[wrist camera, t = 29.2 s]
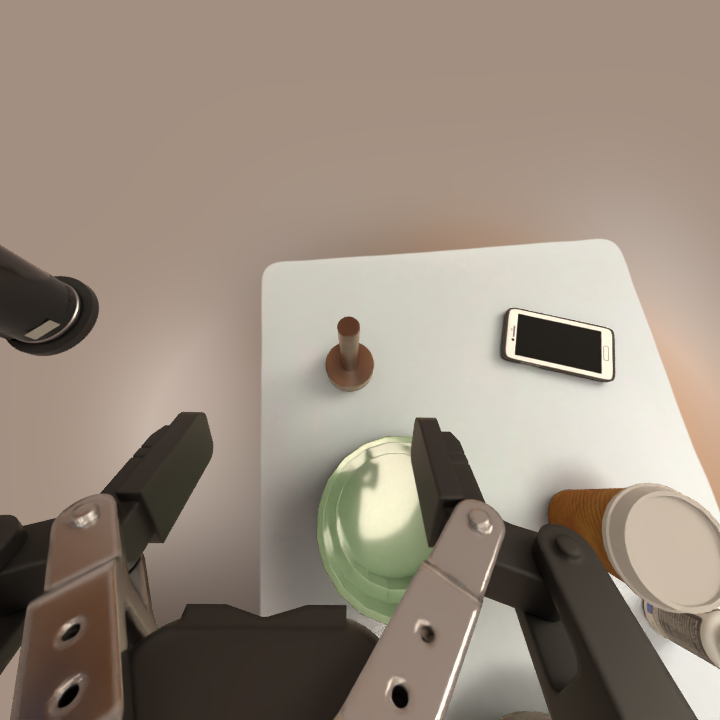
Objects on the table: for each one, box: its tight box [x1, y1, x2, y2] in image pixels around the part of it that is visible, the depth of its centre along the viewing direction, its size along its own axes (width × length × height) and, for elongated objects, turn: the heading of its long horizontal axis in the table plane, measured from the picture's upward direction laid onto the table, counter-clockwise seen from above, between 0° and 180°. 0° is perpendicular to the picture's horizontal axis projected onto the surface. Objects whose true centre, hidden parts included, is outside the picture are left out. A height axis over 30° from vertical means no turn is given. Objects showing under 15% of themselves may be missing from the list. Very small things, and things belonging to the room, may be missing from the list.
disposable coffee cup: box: [548, 483, 720, 614], centre depth 30 cm, size 10×10×12 cm
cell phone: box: [502, 308, 615, 382], centre depth 41 cm, size 8×15×1 cm, turn 77°
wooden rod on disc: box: [326, 317, 374, 391], centre depth 34 cm, size 6×6×14 cm
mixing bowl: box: [317, 436, 433, 624], centre depth 32 cm, size 16×16×6 cm
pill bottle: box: [644, 600, 720, 669], centre depth 29 cm, size 5×5×8 cm
